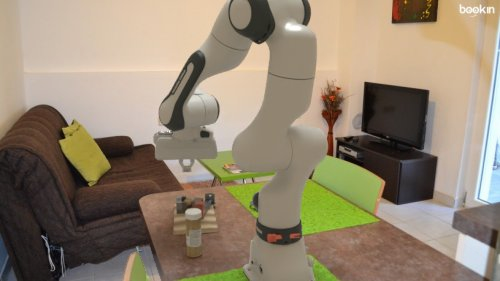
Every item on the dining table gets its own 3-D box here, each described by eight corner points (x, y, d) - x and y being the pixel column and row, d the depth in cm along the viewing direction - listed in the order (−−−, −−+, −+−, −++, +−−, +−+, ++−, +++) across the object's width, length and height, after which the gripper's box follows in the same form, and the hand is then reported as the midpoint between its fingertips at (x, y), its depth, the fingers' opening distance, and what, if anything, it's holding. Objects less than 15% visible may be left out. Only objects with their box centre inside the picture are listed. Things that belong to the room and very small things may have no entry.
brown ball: (193, 209, 141) (193, 200, 140) (183, 210, 141) (182, 200, 140) (193, 205, 145) (192, 196, 144) (182, 206, 144) (182, 197, 143)
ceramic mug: (280, 207, 149) (280, 187, 148) (269, 214, 143) (269, 194, 141) (257, 201, 155) (257, 182, 154) (245, 208, 149) (244, 188, 147)
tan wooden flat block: (221, 231, 129) (221, 216, 128) (173, 235, 126) (173, 219, 125) (215, 204, 151) (215, 191, 150) (174, 206, 149) (174, 193, 147)
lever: (203, 218, 134) (203, 204, 133) (187, 217, 135) (186, 203, 134) (215, 201, 150) (215, 188, 149) (200, 199, 151) (200, 187, 150)
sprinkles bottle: (186, 250, 117) (185, 207, 114) (202, 250, 117) (201, 207, 114) (185, 258, 113) (184, 214, 109) (202, 258, 113) (201, 213, 110)
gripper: (152, 133, 124) (154, 175, 128) (218, 132, 127) (217, 173, 131) (153, 129, 130) (155, 169, 134) (216, 128, 133) (216, 167, 137)
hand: (186, 171), depth 132 cm, fingers closed
